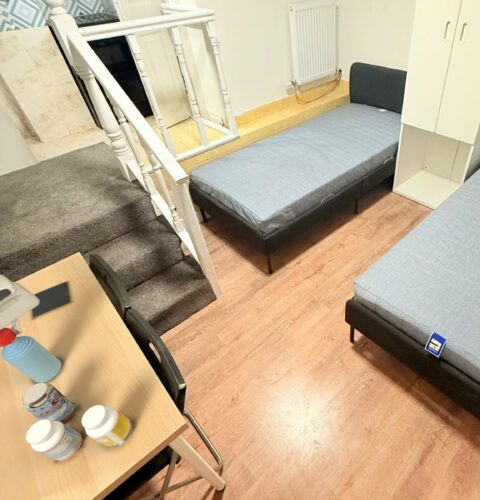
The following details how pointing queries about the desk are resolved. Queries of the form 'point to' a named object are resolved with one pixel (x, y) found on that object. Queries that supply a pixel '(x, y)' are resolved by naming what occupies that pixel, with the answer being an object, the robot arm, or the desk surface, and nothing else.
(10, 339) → the cap
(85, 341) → the desk surface
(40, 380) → the water bottle
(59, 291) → the coaster
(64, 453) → the pill bottle
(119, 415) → the pill bottle
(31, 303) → the robot arm
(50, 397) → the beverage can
